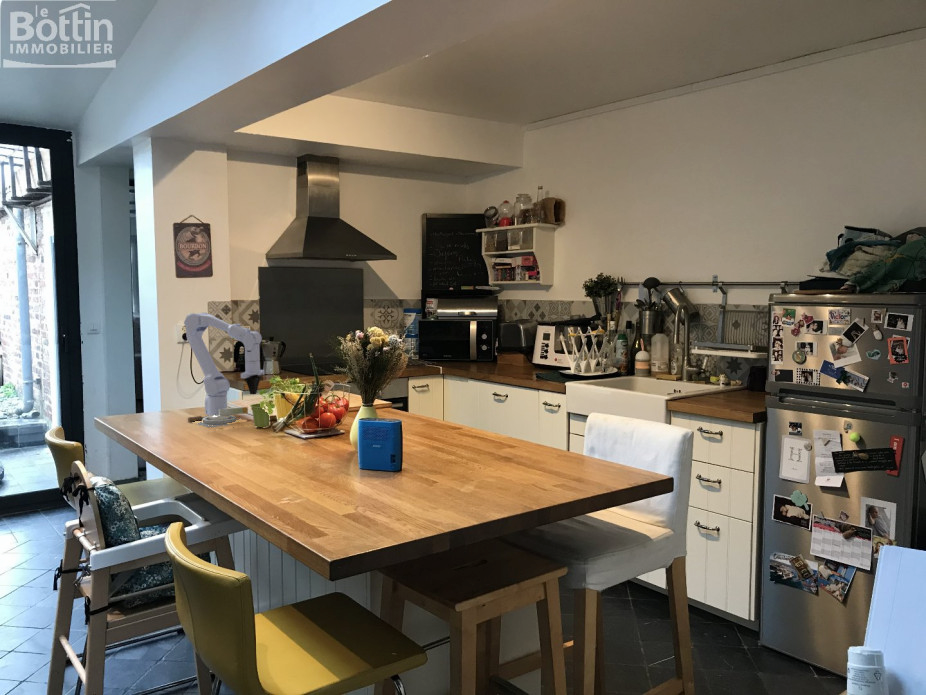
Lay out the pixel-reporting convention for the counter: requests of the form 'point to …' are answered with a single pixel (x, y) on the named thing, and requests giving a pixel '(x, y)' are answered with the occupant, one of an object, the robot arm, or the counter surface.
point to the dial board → (217, 422)
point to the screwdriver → (196, 418)
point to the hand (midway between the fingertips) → (253, 394)
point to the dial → (228, 413)
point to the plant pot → (259, 416)
